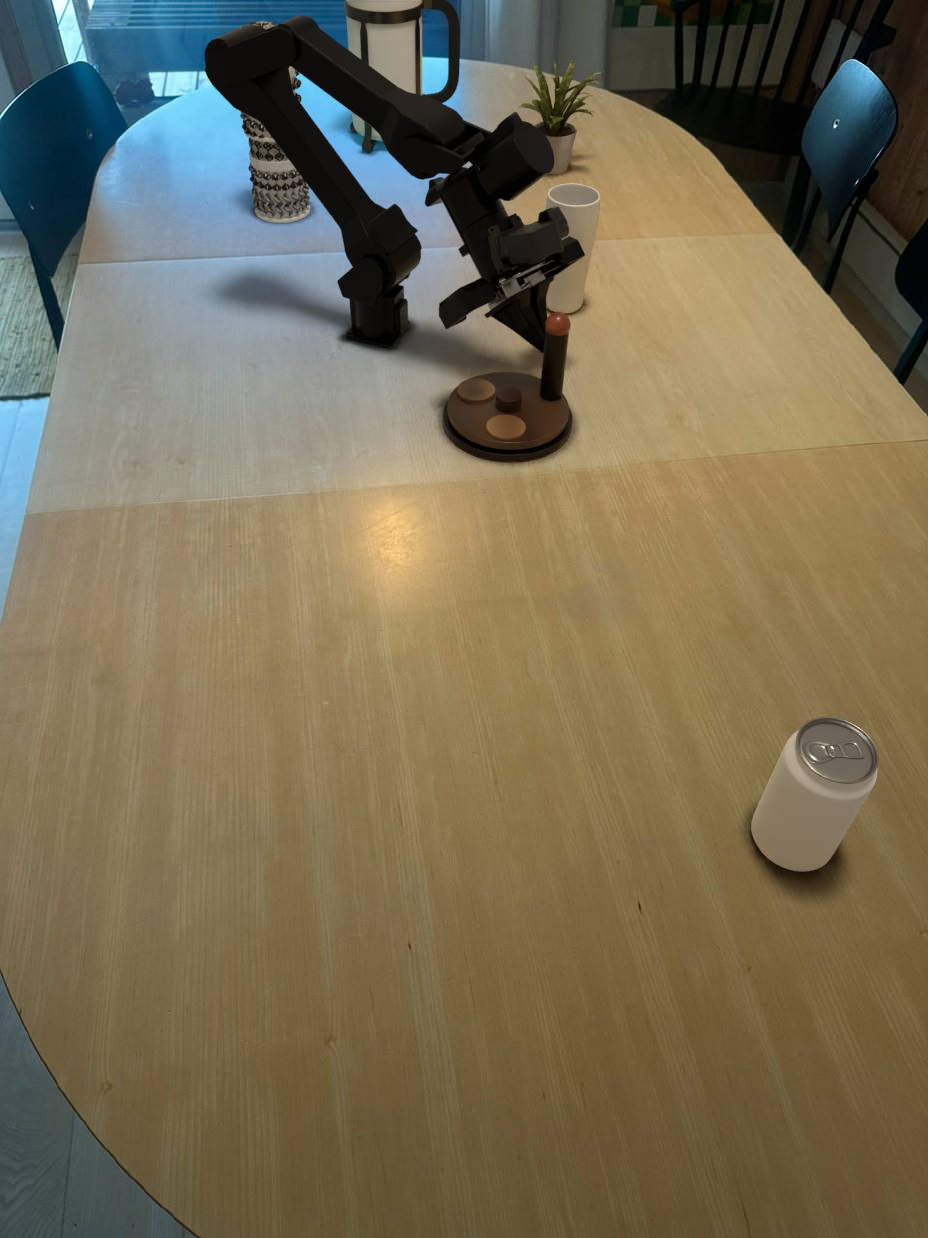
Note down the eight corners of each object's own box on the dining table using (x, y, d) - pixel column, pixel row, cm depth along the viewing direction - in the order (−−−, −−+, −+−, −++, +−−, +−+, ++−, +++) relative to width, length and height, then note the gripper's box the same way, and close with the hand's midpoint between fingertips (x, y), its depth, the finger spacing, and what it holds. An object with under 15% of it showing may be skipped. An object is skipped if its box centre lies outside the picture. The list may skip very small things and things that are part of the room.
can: (739, 804, 78) (778, 714, 69) (817, 799, 79) (865, 709, 70) (763, 877, 74) (807, 791, 65) (845, 871, 74) (900, 785, 65)
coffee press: (403, 164, 161) (398, -50, 139) (327, 142, 167) (311, -68, 145) (460, 131, 171) (464, -73, 149) (387, 111, 177) (380, -89, 155)
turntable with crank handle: (478, 462, 105) (482, 371, 97) (428, 394, 114) (427, 305, 106) (590, 432, 110) (603, 342, 101) (533, 368, 118) (541, 281, 110)
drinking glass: (584, 320, 128) (598, 208, 117) (534, 314, 129) (543, 202, 118) (590, 295, 133) (604, 185, 122) (541, 289, 134) (550, 179, 123)
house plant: (600, 190, 156) (614, 80, 144) (514, 188, 156) (521, 77, 144) (593, 154, 165) (606, 48, 153) (512, 152, 165) (519, 45, 153)
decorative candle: (325, 206, 150) (310, 24, 131) (287, 229, 144) (265, 42, 126) (279, 192, 153) (258, 11, 135) (240, 213, 148) (212, 28, 129)
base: (422, 443, 110) (422, 435, 109) (470, 374, 119) (470, 367, 119) (548, 475, 106) (549, 468, 105) (587, 402, 116) (588, 395, 115)
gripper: (458, 215, 96) (531, 358, 99) (582, 163, 105) (646, 295, 108) (406, 261, 105) (475, 391, 108) (524, 210, 114) (584, 331, 117)
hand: (547, 351), depth 110 cm, fingers closed
